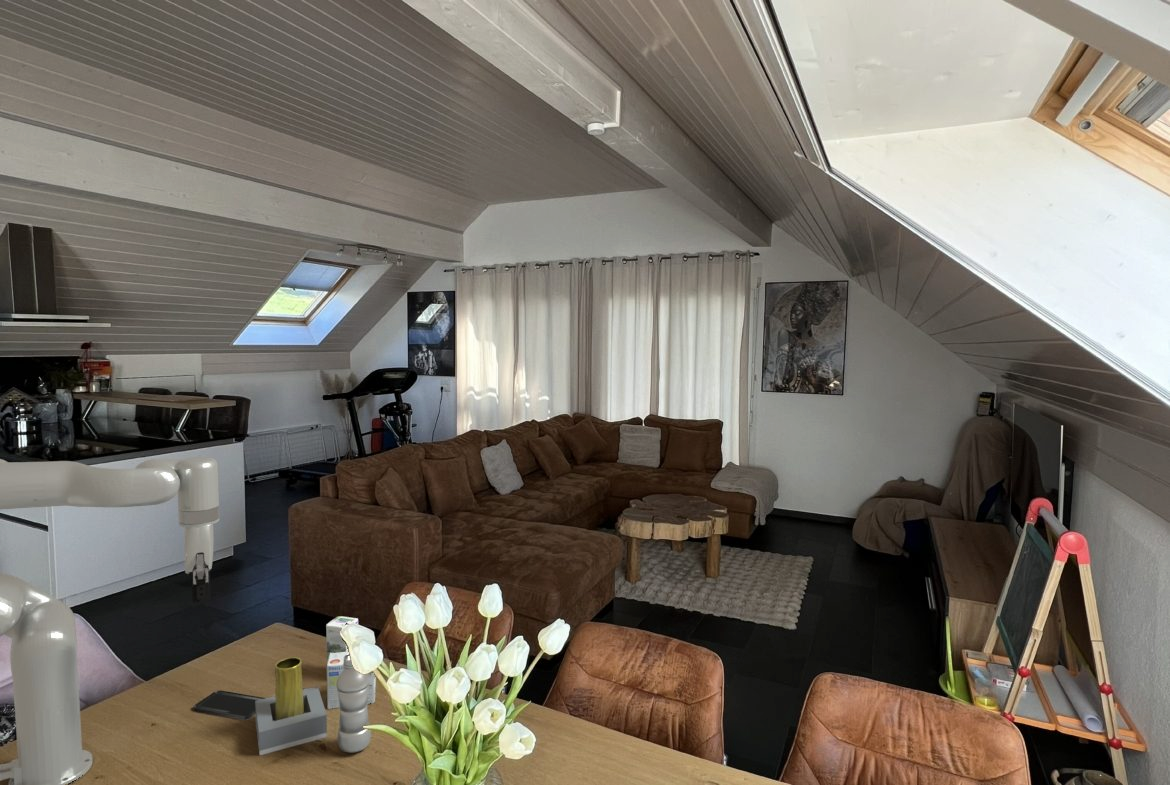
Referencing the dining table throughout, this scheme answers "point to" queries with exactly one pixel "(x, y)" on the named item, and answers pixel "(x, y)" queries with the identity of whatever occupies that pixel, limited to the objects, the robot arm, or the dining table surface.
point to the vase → (288, 688)
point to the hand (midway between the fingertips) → (201, 592)
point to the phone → (228, 705)
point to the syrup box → (336, 635)
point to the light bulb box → (333, 673)
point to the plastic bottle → (353, 708)
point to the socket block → (290, 723)
